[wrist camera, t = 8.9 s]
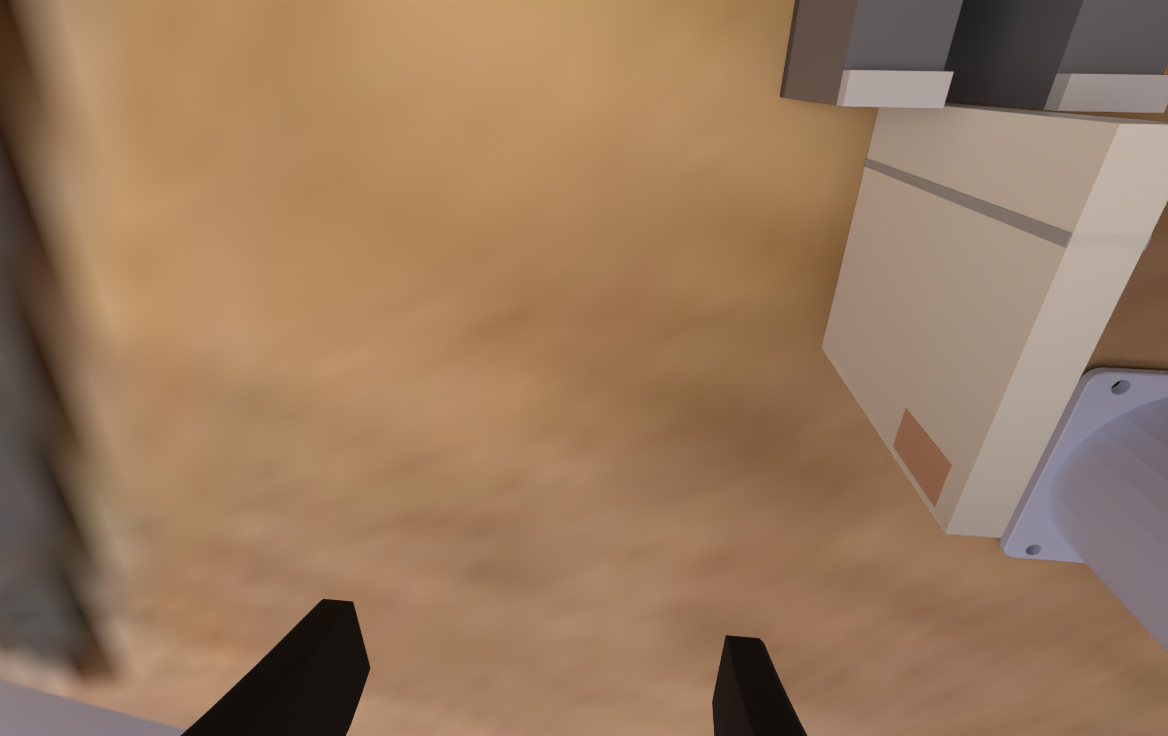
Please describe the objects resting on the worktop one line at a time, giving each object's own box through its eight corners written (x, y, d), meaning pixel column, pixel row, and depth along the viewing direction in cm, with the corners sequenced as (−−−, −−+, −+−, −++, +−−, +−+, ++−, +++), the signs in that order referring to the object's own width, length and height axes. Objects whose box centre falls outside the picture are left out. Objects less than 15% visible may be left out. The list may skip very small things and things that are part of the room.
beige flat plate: (923, 100, 14) (1207, 125, 7) (855, 350, 17) (1003, 538, 10) (879, 100, 14) (1117, 123, 7) (820, 347, 17) (942, 533, 10)
